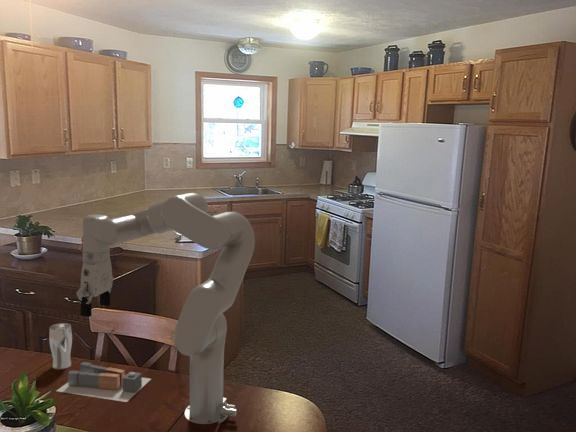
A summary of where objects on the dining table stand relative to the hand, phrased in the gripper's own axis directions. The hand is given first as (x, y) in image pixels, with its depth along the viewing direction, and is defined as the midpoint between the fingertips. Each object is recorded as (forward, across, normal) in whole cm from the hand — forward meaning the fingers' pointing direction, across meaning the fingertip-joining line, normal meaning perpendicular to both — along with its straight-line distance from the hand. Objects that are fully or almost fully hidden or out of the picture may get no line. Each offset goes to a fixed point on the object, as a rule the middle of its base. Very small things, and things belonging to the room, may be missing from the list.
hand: (95, 310), depth 150 cm
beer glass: (+27, +10, +19) cm, 35 cm away
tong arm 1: (+25, -1, 0) cm, 25 cm away
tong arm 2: (+25, +4, 0) cm, 25 cm away
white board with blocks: (+26, +2, -2) cm, 26 cm away
